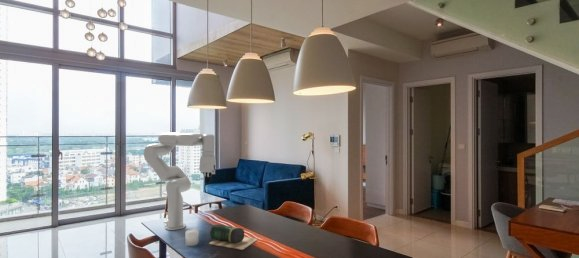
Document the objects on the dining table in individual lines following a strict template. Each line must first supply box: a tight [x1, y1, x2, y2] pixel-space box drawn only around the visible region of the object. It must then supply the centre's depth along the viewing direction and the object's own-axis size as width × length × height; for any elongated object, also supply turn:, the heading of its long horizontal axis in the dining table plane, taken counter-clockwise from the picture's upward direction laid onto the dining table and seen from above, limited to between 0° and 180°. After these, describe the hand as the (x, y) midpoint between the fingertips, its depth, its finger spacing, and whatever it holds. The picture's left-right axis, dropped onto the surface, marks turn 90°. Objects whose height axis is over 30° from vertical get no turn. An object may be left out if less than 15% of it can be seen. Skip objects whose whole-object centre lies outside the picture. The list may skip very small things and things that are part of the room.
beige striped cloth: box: [208, 236, 258, 251], centre depth 175 cm, size 22×16×1 cm
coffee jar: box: [209, 223, 245, 243], centre depth 176 cm, size 10×8×19 cm
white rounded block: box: [184, 228, 199, 247], centre depth 173 cm, size 7×7×7 cm
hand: (207, 182), depth 195 cm, fingers closed
